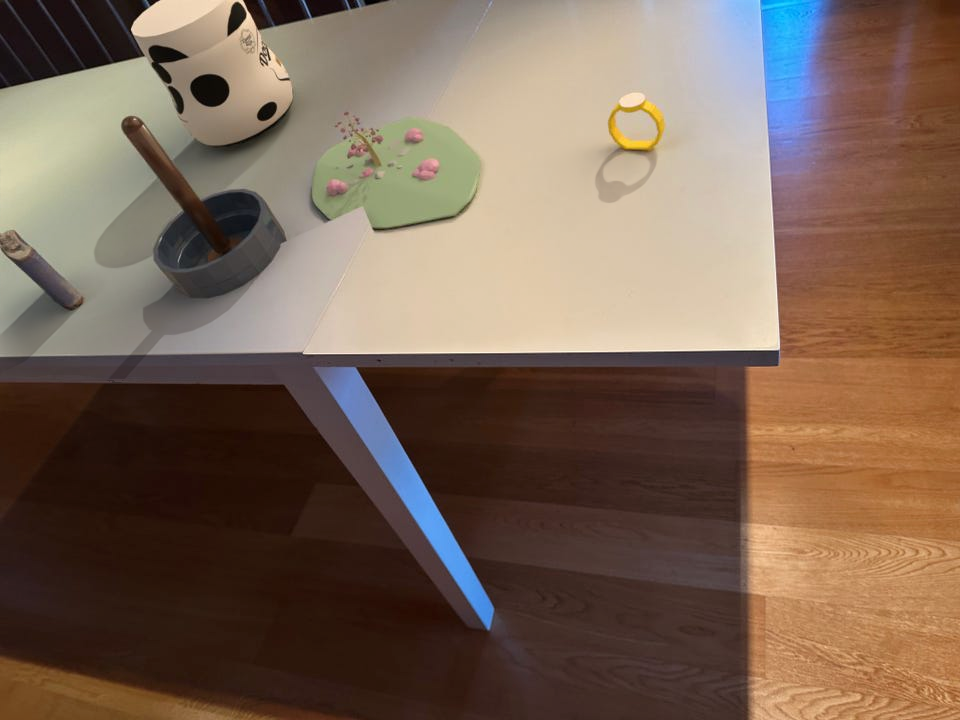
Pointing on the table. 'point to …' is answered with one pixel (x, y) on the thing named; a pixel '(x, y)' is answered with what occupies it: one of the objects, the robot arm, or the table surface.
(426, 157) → the plant
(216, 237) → the masher
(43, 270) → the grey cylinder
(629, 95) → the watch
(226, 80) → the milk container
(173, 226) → the bowl
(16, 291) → the table surface
